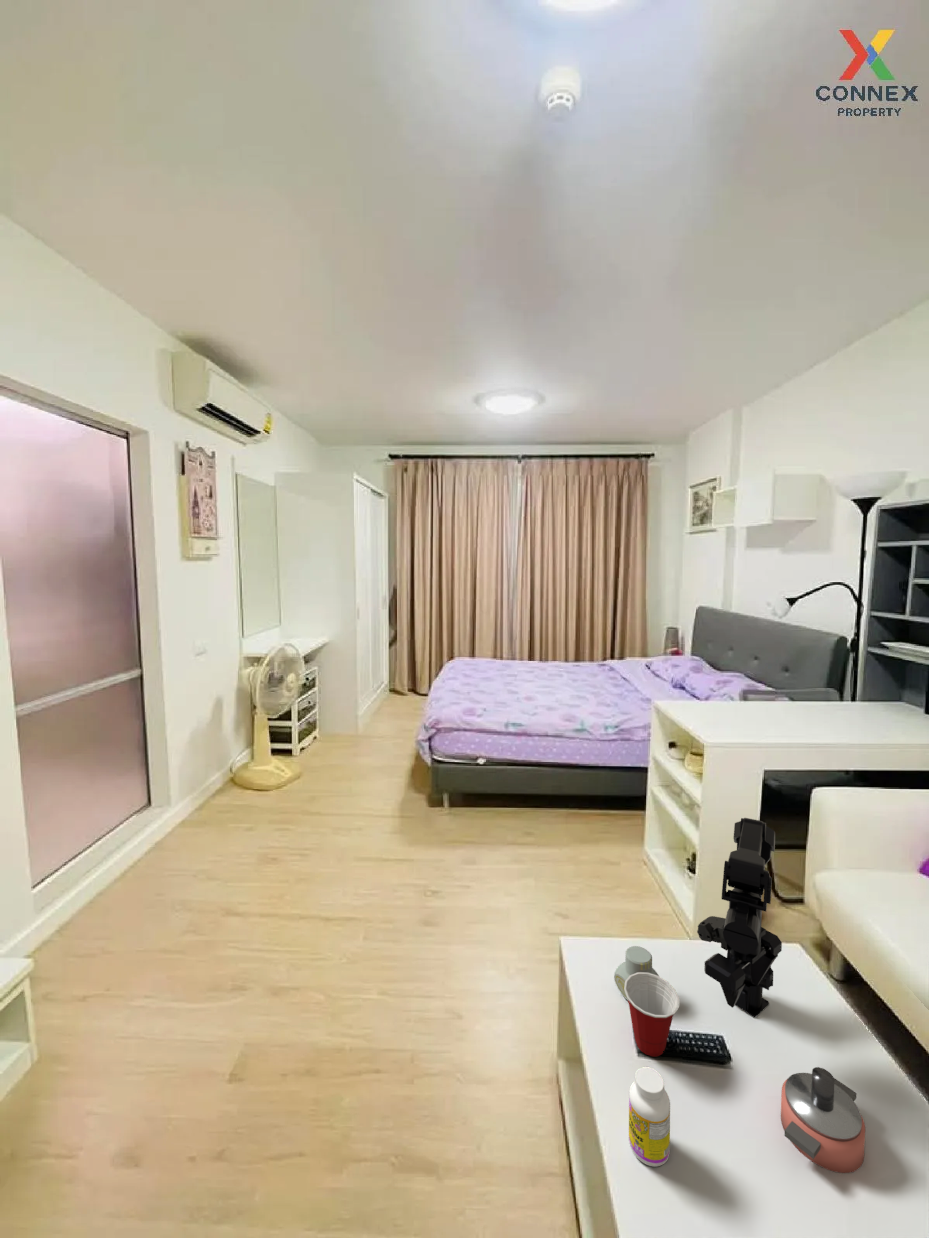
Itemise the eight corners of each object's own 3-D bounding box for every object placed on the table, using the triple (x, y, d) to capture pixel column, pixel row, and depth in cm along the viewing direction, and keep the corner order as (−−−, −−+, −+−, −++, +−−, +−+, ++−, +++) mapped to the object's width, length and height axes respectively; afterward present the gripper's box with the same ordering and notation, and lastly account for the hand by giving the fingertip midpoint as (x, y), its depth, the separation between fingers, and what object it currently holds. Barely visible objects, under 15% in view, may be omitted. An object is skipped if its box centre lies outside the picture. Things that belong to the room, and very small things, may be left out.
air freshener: (669, 1005, 120) (670, 964, 119) (640, 1018, 117) (640, 975, 116) (636, 972, 130) (636, 934, 129) (609, 983, 127) (609, 944, 126)
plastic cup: (656, 1079, 103) (657, 1022, 102) (612, 1039, 112) (612, 986, 111) (690, 1050, 109) (691, 996, 108) (646, 1014, 118) (646, 964, 117)
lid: (802, 1066, 99) (803, 1036, 99) (872, 1115, 90) (874, 1082, 90) (773, 1100, 93) (774, 1068, 93) (845, 1155, 84) (846, 1121, 84)
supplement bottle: (622, 1129, 94) (622, 1062, 93) (658, 1125, 94) (659, 1058, 93) (638, 1171, 87) (638, 1100, 86) (677, 1166, 88) (677, 1095, 87)
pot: (805, 1079, 102) (806, 1055, 101) (881, 1133, 92) (882, 1107, 92) (760, 1134, 92) (761, 1108, 92) (839, 1200, 83) (841, 1171, 82)
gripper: (730, 885, 117) (729, 951, 118) (680, 918, 106) (679, 990, 108) (784, 911, 108) (781, 983, 109) (734, 950, 97) (733, 1028, 99)
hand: (743, 994), depth 106 cm, fingers open, 9 cm apart
